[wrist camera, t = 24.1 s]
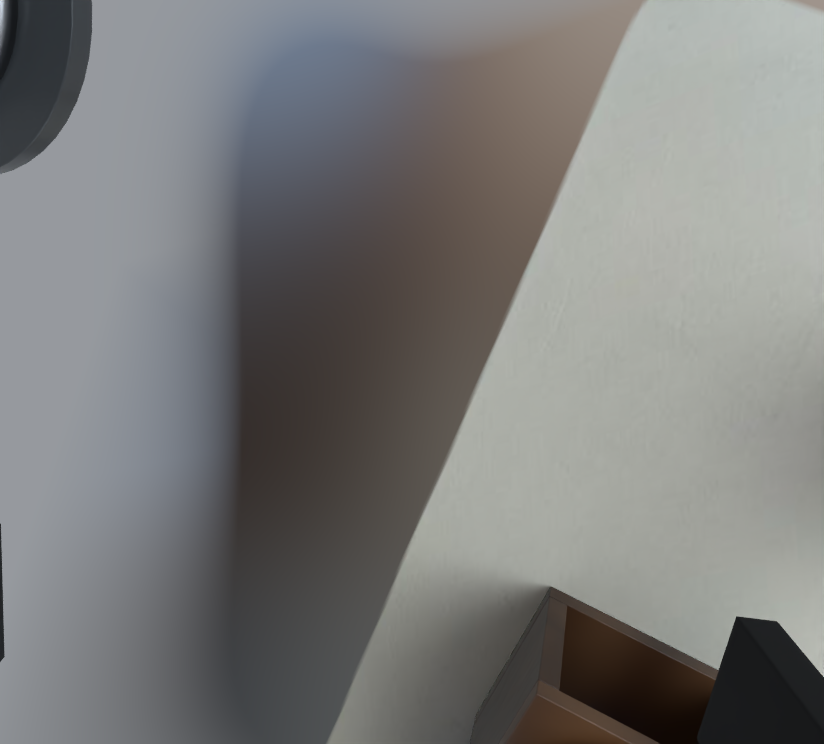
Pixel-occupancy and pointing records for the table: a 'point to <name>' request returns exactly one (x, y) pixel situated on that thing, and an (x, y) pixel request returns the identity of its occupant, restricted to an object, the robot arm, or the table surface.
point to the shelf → (593, 684)
